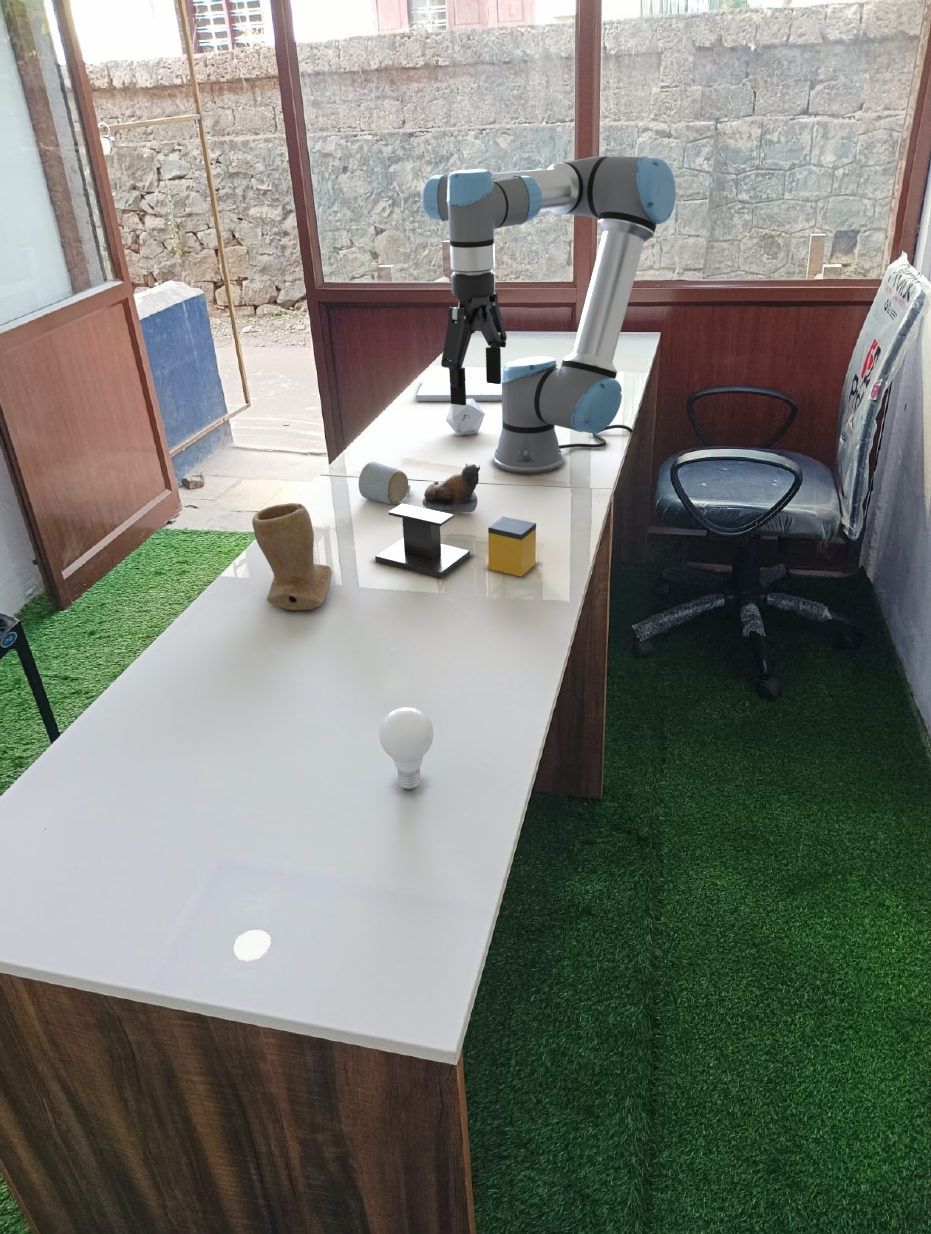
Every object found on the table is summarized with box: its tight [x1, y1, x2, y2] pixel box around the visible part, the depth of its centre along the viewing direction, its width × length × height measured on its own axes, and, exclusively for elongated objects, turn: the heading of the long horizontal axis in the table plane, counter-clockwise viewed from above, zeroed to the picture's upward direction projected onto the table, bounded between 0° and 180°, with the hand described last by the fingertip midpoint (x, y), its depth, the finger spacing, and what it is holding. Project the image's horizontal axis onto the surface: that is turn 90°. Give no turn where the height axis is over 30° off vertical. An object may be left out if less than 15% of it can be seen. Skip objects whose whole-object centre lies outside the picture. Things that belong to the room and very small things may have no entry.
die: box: [445, 398, 486, 437], centre depth 225 cm, size 8×9×10 cm
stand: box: [374, 503, 471, 579], centre depth 163 cm, size 10×14×9 cm
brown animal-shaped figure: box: [421, 463, 481, 513], centre depth 182 cm, size 12×7×10 cm, turn 72°
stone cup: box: [251, 502, 333, 611], centre depth 152 cm, size 15×12×15 cm
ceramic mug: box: [358, 461, 411, 505], centre depth 189 cm, size 11×8×8 cm
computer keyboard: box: [416, 380, 502, 402], centre depth 258 cm, size 43×19×2 cm, turn 85°
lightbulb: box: [378, 706, 434, 790], centre depth 108 cm, size 6×6×11 cm
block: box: [487, 516, 537, 578], centre depth 160 cm, size 6×6×8 cm
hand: (476, 393), depth 167 cm, fingers open, 13 cm apart
